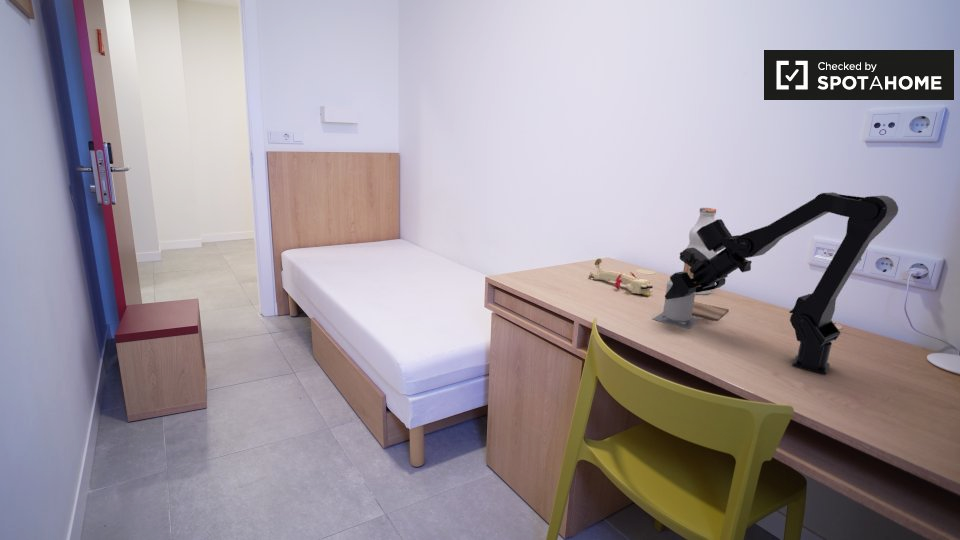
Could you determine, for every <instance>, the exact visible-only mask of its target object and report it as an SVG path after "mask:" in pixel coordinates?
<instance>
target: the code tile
mask: <svg viewBox="0 0 960 540" xmlns="http://www.w3.org/2000/svg"><path fill="white" fill-rule="evenodd" d="M652 320H654V321H657V322H661V323H665V324H669V325H672V326H673V325H674V326H677V327H680V328H685V329H691V328H692V327H693V326H694V325H695V324H697V323H699V321H700V320H701V318H699V317H698V318H697V317H694V316H692V318H691V319H690V320H689V321H687V322H685V323H678V322H673V321H670V320H667V319H666V318H665V316H664V315H663V311H662V312H661V313H659V314H658V315H657V316H655V317H653V318H652Z"/></svg>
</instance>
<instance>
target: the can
mask: <svg viewBox="0 0 960 540" xmlns="http://www.w3.org/2000/svg"><path fill="white" fill-rule="evenodd" d="M691 279H692V278H691ZM672 285H673V283H672V281H671V279H670V278H669V280H668V281H667V284H666V290H665V295H666V294H667V292H668V291H669V289H670V288H671V287H672ZM695 297H696V294H695V292H694V293H693V294H691V295H689V296H686V297H680V298H673V299H666V298H665V297H664V303H663V304H664V305H663V310H662V312H663V315H664V316H665V318H666V319H667V320H670V321H673V322H678V323H685V322H687V321H689V320H690V319H691V318H692V317H693V315H692V311H693V305H694V302H695Z"/></svg>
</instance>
